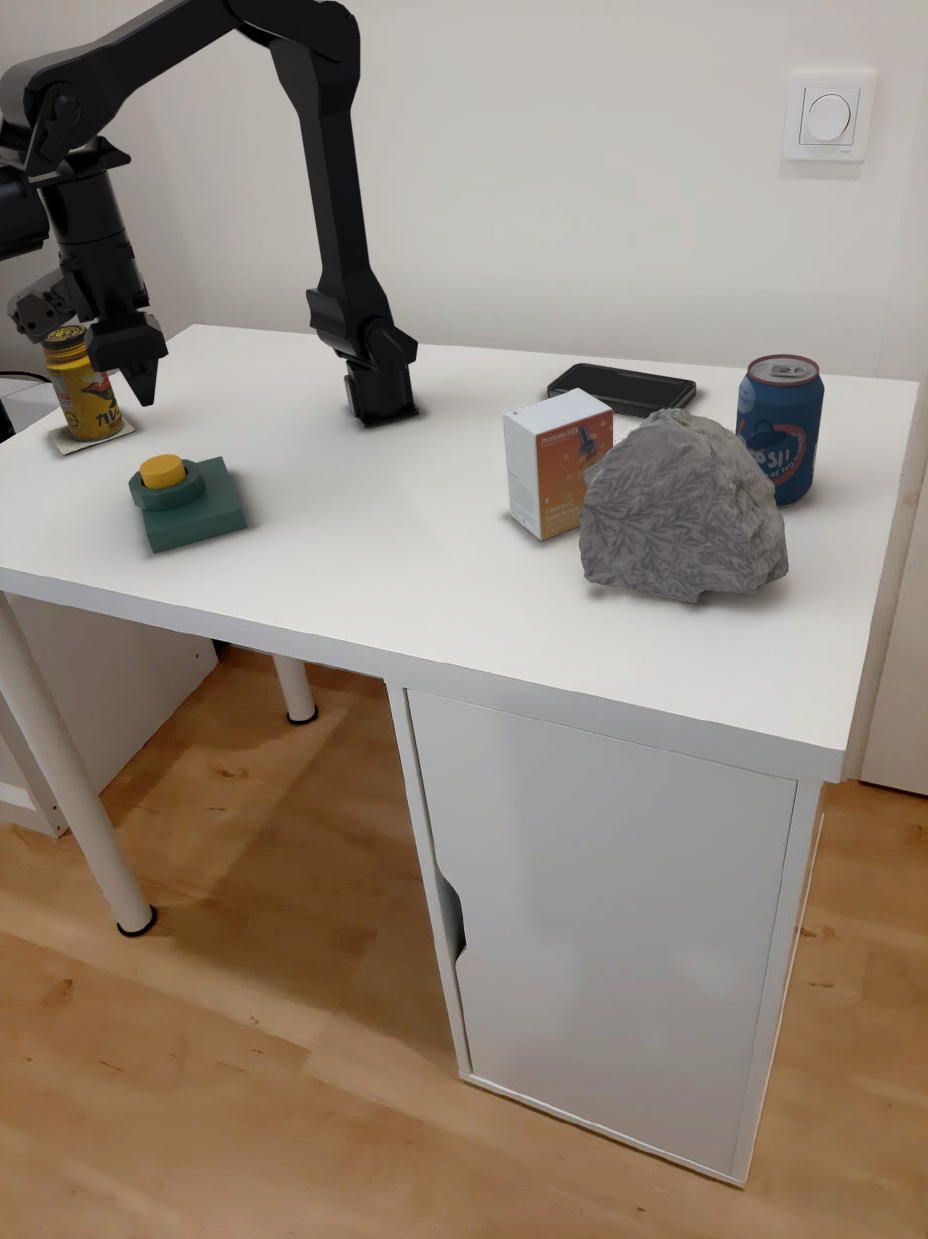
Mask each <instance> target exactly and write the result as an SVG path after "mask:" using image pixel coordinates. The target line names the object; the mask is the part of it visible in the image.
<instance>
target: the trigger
mask: <svg viewBox="0 0 928 1239" xmlns="http://www.w3.org/2000/svg"><path fill="white" fill-rule="evenodd" d="M181 459H182V458H181V457H180V456H179V455H177V454H171V453H170V454H169V453H168V454H160V455H155V456H153V457H150V458H148V459H147V460H145V461H143V462H142V464H140V466H139V470H140V472H141V475H142V478H143V481H144V484H145V486H146V487H147V488H149V489H161V488H165V487H169V486H172V485H175V484H177V483H179V482H180V481H182V480H184V478H185V477H186V473H185V470H184V467H183V464H182V460H181Z"/></svg>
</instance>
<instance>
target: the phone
mask: <svg viewBox="0 0 928 1239" xmlns="http://www.w3.org/2000/svg"><path fill="white" fill-rule="evenodd" d="M576 388H579V389H581V390H583V391H584V392H586V393H588V394H589V395H591V396H593V397H594V398H596V399H598V400H599V401H601V402H603V403H604V404H606V405H607V406H609V407H610V408H612V409H613V413H618V414H624V415H630V416H636V417H640V418H645V419H646V418H648V417H649V415H650V414H651V413H653V412H657V411H659V410H661V409H666V410H667V409H675V408H680V409H683V408H685V407H686V406H687V404H688V403H689V402H691V401H692V400H693V399H694V398H695V397H696V395H697V382H696V381H694V380H691V379H686V378H681V377H675V376H668V375H661V374H654V373H648V372H642V371H636V370H630V369H625V368H618V367H612V366H605V365H601V364H593V363H587V362H579V363H575V364H573V365H571V366H570V367H569V368H568V369H566V370H565V371H564V372H563V373H561V375H559V376H558V377H557V378H555V379H554V380H553V381H552V382H550V383H549V384H548V385H547V387H546V390H547V399H549V398H552V397H555V396H558V395H561V394H564V393H567V392H569V391H571V390H573V389H576Z"/></svg>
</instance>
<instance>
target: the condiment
mask: <svg viewBox="0 0 928 1239" xmlns="http://www.w3.org/2000/svg"><path fill="white" fill-rule="evenodd" d="M87 330H88V328H87V327H86V326H85V325H84V324H83V325H81V324H79V323H78V324H77V323H76V324H75V323H74V324H64V325H62V326H60V327H59V328H57V329H56V330H54V331H53V332H51V333H50V334H48V335H47V338H46V339H45V340H43V341H42V342H40V343H39V344H40V346H41V347H42V349H43V356H44V357H45V362H44V363H45V364H44V367H45V370H46V372H47V375H48V377H49V379H50V383H51V384H52V387H53V390H54V392H55V395H56V397H57V400H58V402H59V405H60V408H61V411H62V413H63V416H64V418H65V421H66V423H67V425H65V426H62V427H58V428H54V429H51V430H48V431H46V433H47V435H48V436H49V438H50V440H51V441H52V442H53V443H54V445H55V447H56V448H57V449H58V450H59V451H60V452H61V454H62V455H63V456H65V455H68V454H69V453H73V452H76V451H78V450H80V449H85V448H87V447H89V446H94V445H96V444H100V443H103V442H106V441H110V440H112V439H115V438H118V437H121V436H124V435H127V434H129V433H132V432H134V431H135V430H136V429H135V428H134V426H132V425H131V424H130V423H129V422H128V421H127V419H126V418H125V417H123V415H122V413H121V410H120V407H119V404H118V399H117V398H116V395H115V391H114V389H113V386H112V383H111V381H110V377H109V376H108V371H106V372H101V373H100V372H94V371H93V369H92V366H91V363H90V360H89V358H88V355H87V352H86V348H85V342H84V336H85V334H86V332H87Z"/></svg>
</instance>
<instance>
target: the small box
mask: <svg viewBox="0 0 928 1239" xmlns="http://www.w3.org/2000/svg"><path fill="white" fill-rule="evenodd" d="M502 428H503V439H504V440H503V441H504V450H505V452H504V453H505V463H506V477H507V489H508V504H509V514H510V516H511V517H512V518H513V519H514V520H516V521H517V522H518V523H519V524H520V525H522V526H523V527H524V528H525V529H526V530H527V531H529V532H530V533H531V534H532V535H533V536H535V538H537V539H538V540H539V541H545V540H546V539H549V538H551V537H553V536H557V535H558V534H561V533H564V532H567V531H569V530H572V529H574V528H577V527H581V524H580V519H579V515H578V513H579V512H580V510H581V508H582V507H583V505H584V498H585V496H586V494H587V492H588V487H589V484H590V483H591V481H592V480H593V479H594V477H595V475H596V474H597V473H598V472H599V471H600V470H601V469H602V468H603V462H604V461H603V458H604V456H605V454H606V453H607V452H608V451H609V450H610V449H612V448H613V447H614V411H613V409H612V408H610V407H609V406H607V405H606V404H604V403H603V402H601V401H599V400H598V399H596V398H594V397H593V396H591V395H589V394H588V393H586V392H584V391H583V390H581V389H579V388H576V389H573V390H571V391H569V392H567V393H564V394H561V395H558V396H555V397H552V398H547V399H544V400H541V401H537V402H535V403H532V404H529V405H525V406H522V407H519V408H516V409H513V410H512V409H511V410H508V411H505V412H502Z"/></svg>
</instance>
